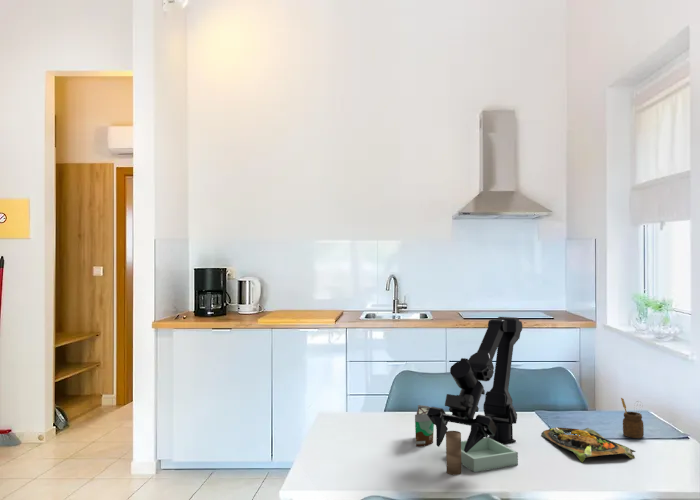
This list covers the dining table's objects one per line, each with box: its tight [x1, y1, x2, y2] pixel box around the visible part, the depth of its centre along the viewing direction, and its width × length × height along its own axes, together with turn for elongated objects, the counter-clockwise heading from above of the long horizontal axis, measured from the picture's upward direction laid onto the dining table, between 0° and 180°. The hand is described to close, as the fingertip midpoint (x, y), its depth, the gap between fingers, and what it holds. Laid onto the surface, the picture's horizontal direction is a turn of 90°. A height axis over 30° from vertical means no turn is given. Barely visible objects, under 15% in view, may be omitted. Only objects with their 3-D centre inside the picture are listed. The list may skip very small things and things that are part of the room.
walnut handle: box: [445, 430, 463, 476], centre depth 148 cm, size 4×4×10 cm
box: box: [461, 436, 519, 473], centre depth 157 cm, size 14×14×4 cm
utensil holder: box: [620, 397, 645, 439], centre depth 176 cm, size 6×6×12 cm
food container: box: [414, 404, 435, 448], centre depth 174 cm, size 12×6×10 cm, turn 168°
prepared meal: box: [540, 427, 637, 464], centre depth 168 cm, size 28×4×18 cm
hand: (451, 448), depth 147 cm, fingers open, 8 cm apart
